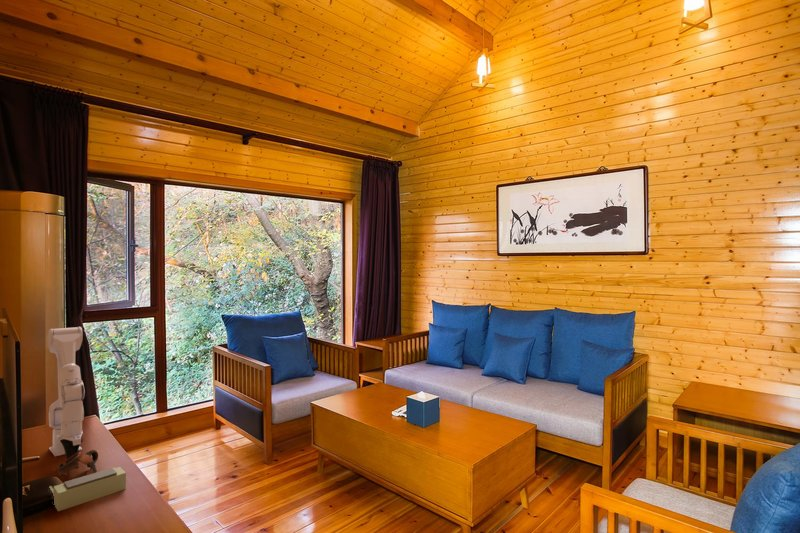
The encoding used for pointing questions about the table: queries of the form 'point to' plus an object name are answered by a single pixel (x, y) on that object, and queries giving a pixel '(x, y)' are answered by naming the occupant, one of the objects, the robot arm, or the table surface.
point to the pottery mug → (73, 461)
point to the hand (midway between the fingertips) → (71, 460)
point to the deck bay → (88, 488)
